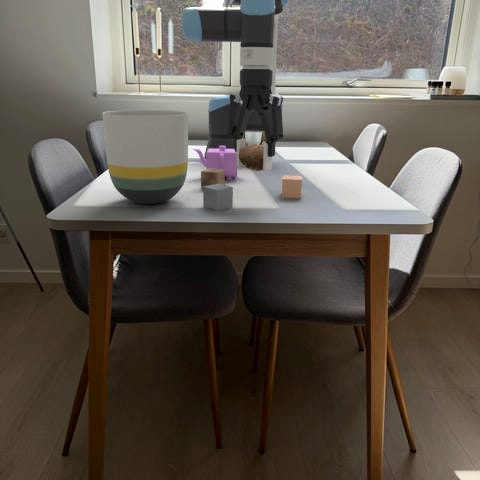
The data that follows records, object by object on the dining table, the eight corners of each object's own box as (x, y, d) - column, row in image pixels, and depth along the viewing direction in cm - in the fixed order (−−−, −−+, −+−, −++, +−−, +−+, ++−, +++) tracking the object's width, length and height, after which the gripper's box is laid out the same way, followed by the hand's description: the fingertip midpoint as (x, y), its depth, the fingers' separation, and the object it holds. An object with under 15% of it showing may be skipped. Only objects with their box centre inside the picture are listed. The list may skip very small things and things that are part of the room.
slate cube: (203, 206, 111) (203, 186, 109) (219, 203, 114) (219, 183, 113) (216, 211, 108) (216, 190, 106) (232, 207, 111) (232, 187, 109)
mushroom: (236, 151, 117) (245, 133, 112) (264, 163, 118) (275, 146, 114) (231, 172, 112) (241, 154, 107) (261, 184, 113) (272, 167, 109)
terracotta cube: (281, 198, 120) (282, 179, 119) (282, 193, 125) (282, 175, 123) (300, 198, 120) (301, 179, 118) (300, 194, 124) (301, 175, 123)
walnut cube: (201, 188, 129) (200, 171, 127) (208, 185, 133) (208, 168, 131) (217, 190, 127) (217, 172, 125) (224, 187, 131) (224, 169, 130)
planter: (196, 209, 108) (195, 115, 101) (110, 215, 103) (102, 116, 96) (182, 190, 126) (180, 109, 119) (108, 194, 121) (101, 110, 113)
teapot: (250, 173, 150) (251, 143, 147) (251, 182, 138) (252, 149, 134) (195, 172, 150) (195, 142, 147) (191, 181, 138) (190, 148, 134)
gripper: (211, 67, 108) (212, 164, 116) (285, 68, 97) (280, 176, 105) (231, 67, 113) (230, 160, 121) (303, 68, 102) (297, 170, 110)
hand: (253, 167), depth 113 cm, fingers closed on mushroom, 7 cm apart
